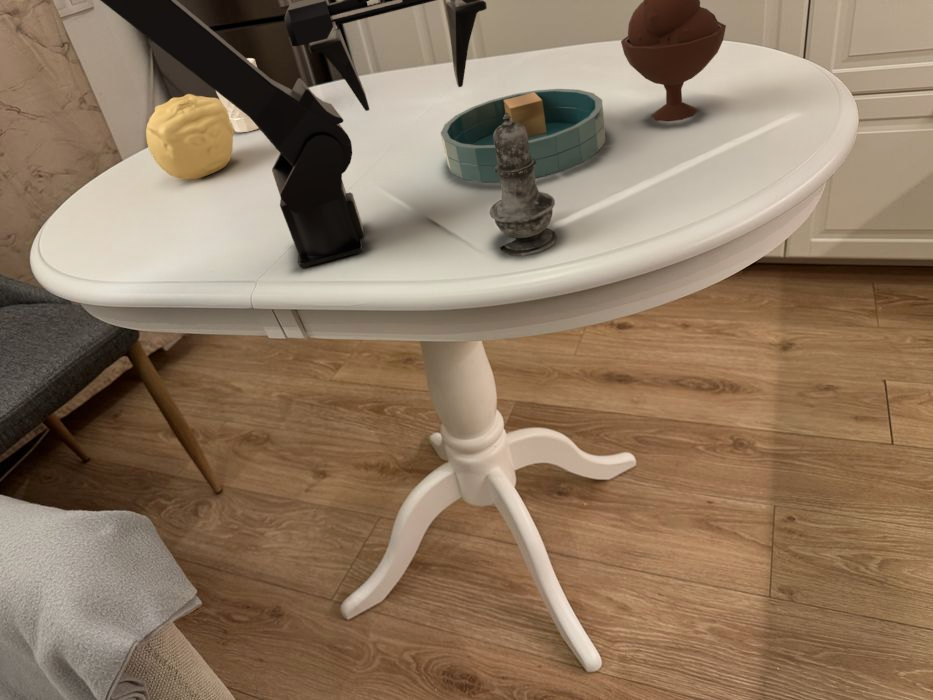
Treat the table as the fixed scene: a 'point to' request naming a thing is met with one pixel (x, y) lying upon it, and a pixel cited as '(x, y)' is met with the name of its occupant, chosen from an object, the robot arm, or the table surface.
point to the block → (527, 112)
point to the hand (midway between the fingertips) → (413, 97)
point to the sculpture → (190, 136)
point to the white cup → (238, 113)
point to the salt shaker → (520, 194)
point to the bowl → (563, 145)
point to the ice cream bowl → (672, 48)
